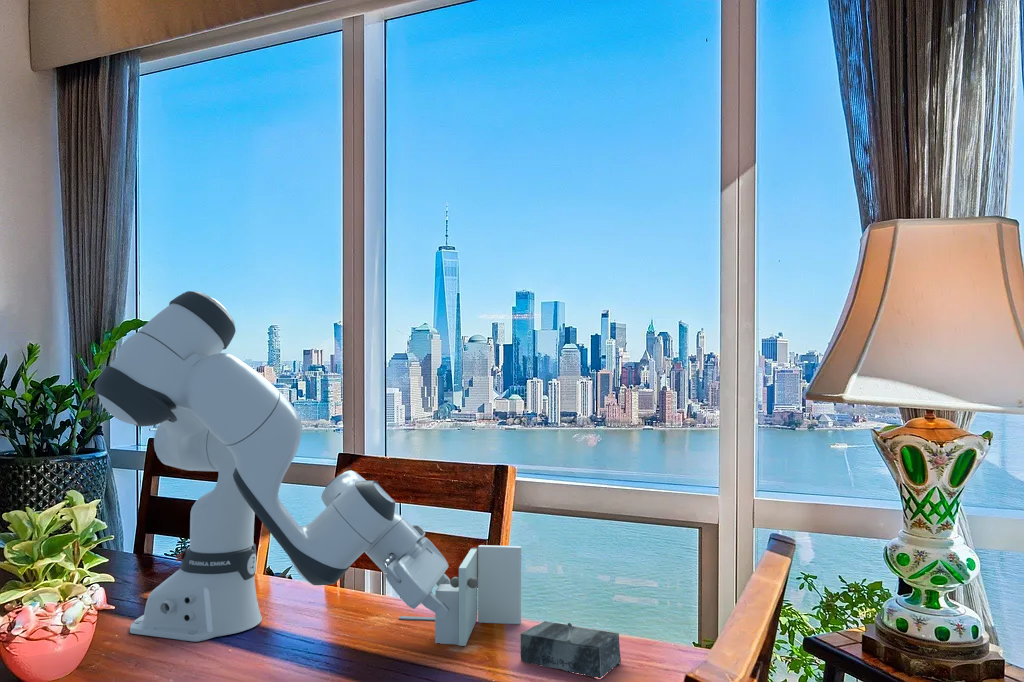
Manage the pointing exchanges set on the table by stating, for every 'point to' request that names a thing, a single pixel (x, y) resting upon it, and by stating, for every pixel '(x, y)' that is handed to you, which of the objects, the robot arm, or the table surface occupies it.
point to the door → (467, 595)
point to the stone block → (571, 648)
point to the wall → (496, 585)
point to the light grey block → (450, 623)
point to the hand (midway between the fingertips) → (451, 606)
